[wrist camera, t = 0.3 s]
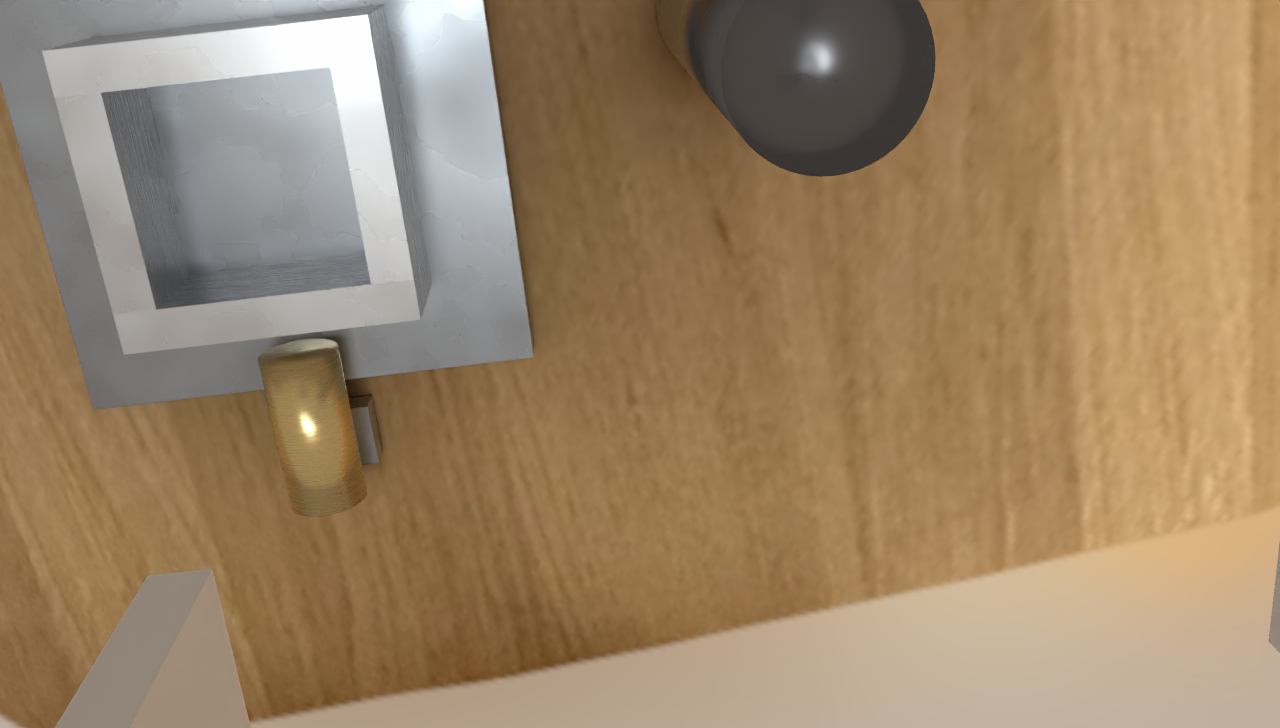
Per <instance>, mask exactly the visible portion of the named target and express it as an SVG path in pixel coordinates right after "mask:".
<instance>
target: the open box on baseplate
mask: <svg viewBox="0 0 1280 728" xmlns="http://www.w3.org/2000/svg"><path fill="white" fill-rule="evenodd" d="M0 82H1V86H2V89H3V93H4V96H5V100H6V103H7V107H8V110H9V114H10V117H11V121H12V124H13V128H14V132H15V135H16V139H17V142H18V146H19V149H20V153H21V156H22V160H23V163H24V167H25V170H26V174H27V177H28V181H29V184H30V188H31V191H32V195H33V198H34V202H35V205H36V209H37V212H38V216H39V219H40V223H41V226H42V230H43V233H44V237H45V240H46V244H47V248H48V251H49V255H50V258H51V262H52V265H53V269H54V272H55V276H56V279H57V283H58V286H59V290H60V293H61V297H62V300H63V304H64V307H65V311H66V314H67V318H68V321H69V325H70V328H71V332H72V335H73V339H74V342H75V346H76V349H77V353H78V356H79V360H80V364H81V367H82V371H83V374H84V378H85V381H86V385H87V388H88V392H89V395H90V399H91V402H92V406H93V409H94V410H96V409H105V408H113V407H122V406H130V405H138V404H147V403H155V402H163V401H172V400H180V399H189V398H197V397H205V396H214V395H222V394H231V393H239V392H247V391H256V390H264V391H265V395H266V400H267V404H268V408H269V413H270V417H271V421H272V426H273V430H274V435H275V439H276V443H277V448H278V452H279V456H280V461H281V465H282V470H283V474H284V478H285V483H286V487H287V491H288V496H289V500H290V505H291V508H292V510H293V511H294V512H295V513H297V514H299V515H303V516H311V517H315V516H326V515H331V514H335V513H339V512H342V511H345V510H347V509H350V508H352V507H354V506H355V505H357V504H358V503H360V502H361V501H362V500H363V499H364V498H365V497H366V495H367V487H366V482H365V477H364V472H363V467H362V465H363V464H372V463H379V459H380V456H381V453H382V445H381V440H380V435H379V430H378V424H377V419H376V414H375V409H374V404H373V399H372V395H368V396H360V397H351V398H348V393H347V388H346V383H345V380H348V379H357V378H365V377H373V376H382V375H390V374H399V373H407V372H415V371H424V370H432V369H441V368H449V367H457V366H466V365H474V364H483V363H491V362H499V361H508V360H516V359H524V358H533V357H534V344H533V337H532V330H531V322H530V315H529V308H528V301H527V294H526V287H525V280H524V273H523V266H522V259H521V252H520V245H519V238H518V230H517V223H516V216H515V209H514V202H513V195H512V188H511V181H510V174H509V167H508V160H507V153H506V145H505V138H504V131H503V124H502V117H501V110H500V103H499V96H498V89H497V82H496V75H495V68H494V61H493V53H492V46H491V39H490V32H489V25H488V18H487V11H486V4H485V0H0Z"/></svg>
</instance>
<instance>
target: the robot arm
mask: <svg viewBox="0 0 1280 728" xmlns="http://www.w3.org/2000/svg"><path fill="white" fill-rule="evenodd" d="M1269 642H1270V643H1271V644H1272V645H1273V646H1274V647H1275V648H1276V649H1277V650H1278V651H1279V652H1280V544H1279V554H1278V563H1277V572H1276V580H1275V589H1274V598H1273V607H1272V616H1271V626H1270V634H1269ZM55 728H251V727H250V723H249V719H248V715H247V710H246V706H245V702H244V698H243V694H242V690H241V686H240V682H239V677H238V673H237V669H236V665H235V661H234V657H233V653H232V648H231V644H230V640H229V636H228V632H227V628H226V624H225V620H224V615H223V611H222V607H221V603H220V599H219V595H218V591H217V586H216V582H215V578H214V574H213V570H212V569H205V570H196V571H187V572H178V573H169V574H160V575H151V576H147V577H146V579H145V580H144V582H143V584H142V585H141V587H140V589H139V590H138V592H137V594H136V595H135V597H134V599H133V600H132V602H131V603H130V605H129V607H128V608H127V610H126V612H125V613H124V615H123V617H122V618H121V620H120V621H119V623H118V625H117V626H116V628H115V630H114V631H113V633H112V635H111V636H110V638H109V640H108V641H107V643H106V644H105V646H104V648H103V649H102V651H101V653H100V654H99V656H98V658H97V659H96V661H95V663H94V664H93V666H92V667H91V669H90V671H89V672H88V674H87V676H86V677H85V679H84V681H83V682H82V684H81V685H80V687H79V689H78V690H77V692H76V694H75V695H74V697H73V699H72V700H71V702H70V704H69V705H68V707H67V708H66V710H65V712H64V713H63V715H62V717H61V718H60V720H59V722H58V723H57V725H56V727H55Z"/></svg>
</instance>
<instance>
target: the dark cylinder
mask: <svg viewBox="0 0 1280 728" xmlns="http://www.w3.org/2000/svg"><path fill="white" fill-rule="evenodd" d="M656 19H657V25H658V28H659V32H660V34H661V37H662V39H663V41H664V43H665V44H666V46H667V48H668V49H669V50H670V52H671V53H672V54H673V55H674V57H675V58H676V59H677V60H678V61H679V63H680V64H681V65H682V66H683V67H684V68H685V70H686V71H687V72H688V73H689V74H690V76H691V77H692V78H693V79H694V80H695V82H696V83H697V84H698V85H699V86H700V88H701V89H702V90H703V91H704V92H705V93H706V95H707V96H708V97H709V98H710V99H711V101H712V102H713V103H714V104H715V105H716V107H717V108H718V109H719V110H720V111H721V113H722V114H723V115H724V116H725V117H726V119H727V120H728V121H729V122H730V123H731V124H732V126H733V127H734V128H735V129H736V130H737V132H738V133H739V134H740V135H741V136H742V138H743V139H744V140H745V141H746V142H747V144H748V145H749V146H750V147H752V148H753V149H754V150H755V151H756V152H757V153H758V154H759V155H761V156H762V157H763V158H765V159H766V160H767V161H769V162H771V163H773V164H774V165H776V166H778V167H780V168H783V169H785V170H788V171H791V172H794V173H798V174H803V175H809V176H834V175H840V174H846V173H849V172H852V171H856V170H859V169H861V168H864V167H866V166H868V165H870V164H872V163H874V162H876V161H877V160H879V159H880V158H882V157H884V156H885V155H886V154H888V153H889V152H890V151H891V150H893V149H894V148H895V147H896V146H897V145H898V144H899V143H900V142H901V141H902V140H903V139H904V138H905V137H906V136H907V135H908V133H909V132H910V131H911V129H912V128H913V127H914V125H915V124H916V122H917V121H918V119H919V117H920V115H921V114H922V112H923V110H924V107H925V105H926V103H927V101H928V98H929V94H930V91H931V88H932V84H933V78H934V72H935V47H934V40H933V35H932V30H931V27H930V24H929V21H928V18H927V15H926V13H925V12H924V10H923V8H922V6H921V4H920V2H919V1H918V0H656Z"/></svg>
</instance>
